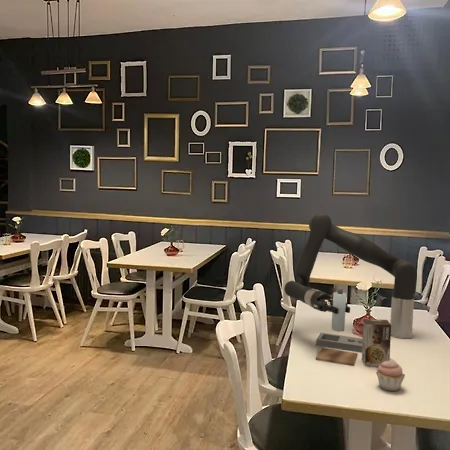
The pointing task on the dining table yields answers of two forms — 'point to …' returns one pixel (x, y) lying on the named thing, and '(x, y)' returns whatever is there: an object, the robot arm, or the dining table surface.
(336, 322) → the pale blue bottle
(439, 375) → the dining table surface
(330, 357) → the walnut board
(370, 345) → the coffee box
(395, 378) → the cupcake
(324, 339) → the grey tray
